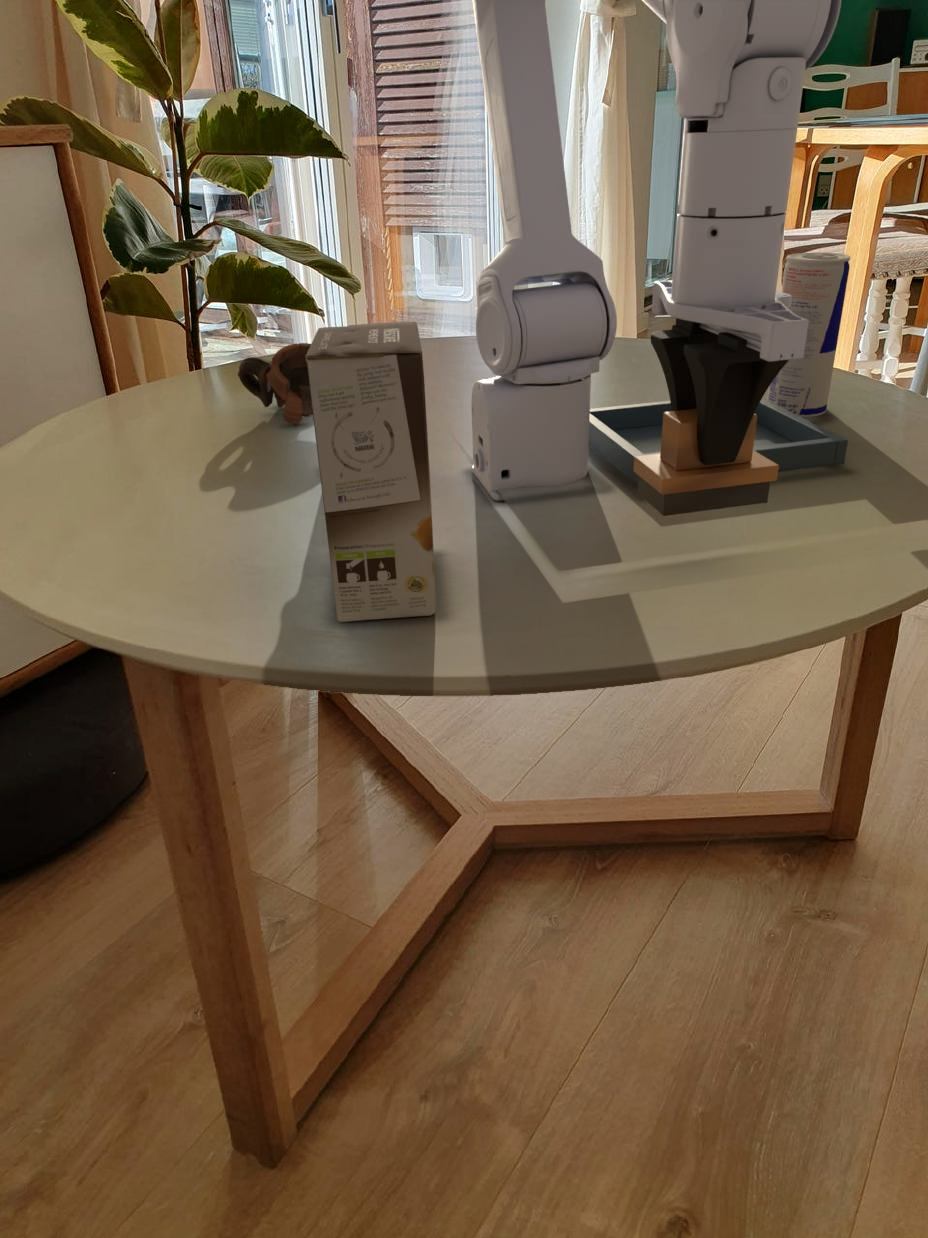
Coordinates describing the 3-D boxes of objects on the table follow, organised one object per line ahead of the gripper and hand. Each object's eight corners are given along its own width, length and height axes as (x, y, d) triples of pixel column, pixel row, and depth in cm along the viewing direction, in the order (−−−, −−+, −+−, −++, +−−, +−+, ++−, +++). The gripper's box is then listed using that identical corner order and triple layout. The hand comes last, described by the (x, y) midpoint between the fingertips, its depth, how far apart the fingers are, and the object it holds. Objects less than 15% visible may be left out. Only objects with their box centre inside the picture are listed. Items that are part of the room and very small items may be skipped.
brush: (660, 518, 53) (667, 429, 51) (631, 493, 57) (636, 409, 54) (773, 503, 55) (786, 416, 52) (738, 479, 58) (748, 397, 56)
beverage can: (829, 425, 84) (857, 258, 77) (768, 423, 86) (790, 259, 78) (820, 408, 89) (846, 250, 82) (763, 407, 90) (783, 251, 83)
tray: (641, 497, 70) (643, 463, 69) (574, 439, 84) (574, 410, 82) (843, 472, 73) (849, 439, 72) (746, 419, 87) (750, 391, 86)
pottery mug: (353, 402, 100) (359, 345, 93) (335, 462, 95) (339, 406, 88) (248, 377, 99) (246, 318, 92) (224, 437, 94) (220, 378, 87)
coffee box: (440, 617, 54) (424, 350, 46) (335, 624, 54) (302, 357, 46) (432, 554, 62) (418, 318, 54) (341, 560, 62) (314, 324, 54)
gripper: (880, 219, 42) (832, 486, 49) (733, 200, 55) (710, 415, 61) (746, 228, 41) (715, 501, 48) (626, 207, 53) (615, 425, 60)
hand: (706, 454), depth 54 cm, fingers closed on brush, 2 cm apart
